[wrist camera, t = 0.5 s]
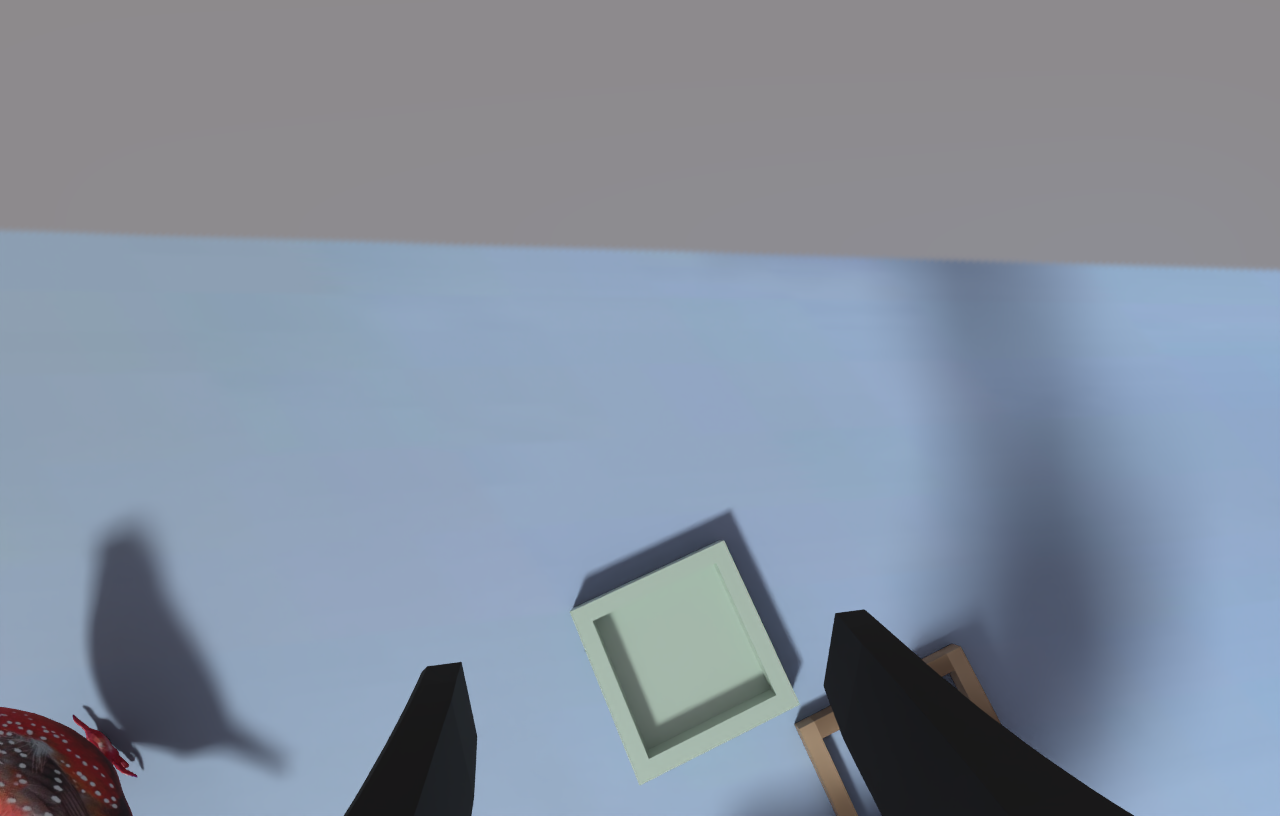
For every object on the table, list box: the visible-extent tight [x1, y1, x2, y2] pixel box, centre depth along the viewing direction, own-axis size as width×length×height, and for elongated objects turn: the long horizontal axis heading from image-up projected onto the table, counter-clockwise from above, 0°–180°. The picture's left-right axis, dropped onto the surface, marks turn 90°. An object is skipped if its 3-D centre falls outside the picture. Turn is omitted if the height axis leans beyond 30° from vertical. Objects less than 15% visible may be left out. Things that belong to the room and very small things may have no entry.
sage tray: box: [570, 540, 800, 785], centre depth 36 cm, size 10×10×2 cm
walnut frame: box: [795, 644, 1001, 816], centre depth 35 cm, size 11×11×1 cm
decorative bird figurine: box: [0, 707, 137, 816], centre depth 30 cm, size 3×18×10 cm, turn 51°
